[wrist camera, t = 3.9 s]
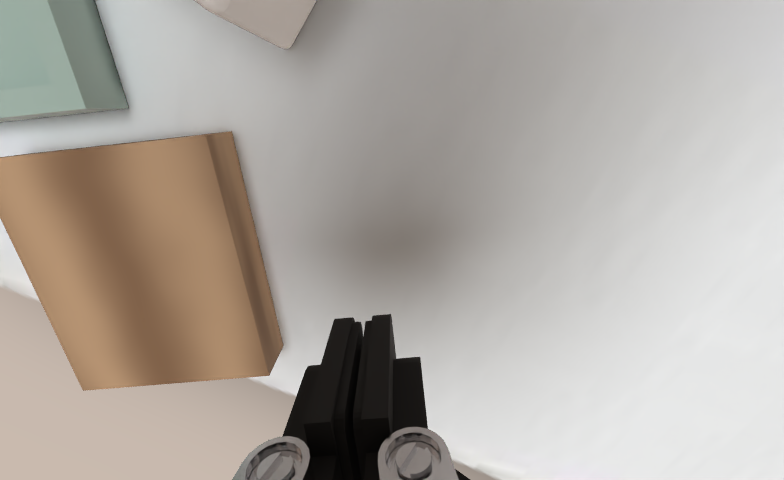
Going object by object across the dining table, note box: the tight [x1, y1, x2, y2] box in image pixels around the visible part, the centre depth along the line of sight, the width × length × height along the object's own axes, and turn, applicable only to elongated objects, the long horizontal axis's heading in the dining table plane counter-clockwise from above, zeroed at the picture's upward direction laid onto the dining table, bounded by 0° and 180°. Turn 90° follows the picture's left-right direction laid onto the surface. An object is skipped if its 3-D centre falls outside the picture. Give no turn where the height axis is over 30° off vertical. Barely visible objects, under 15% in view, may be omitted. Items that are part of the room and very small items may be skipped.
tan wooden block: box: [0, 131, 283, 390], centre depth 19 cm, size 10×12×3 cm
